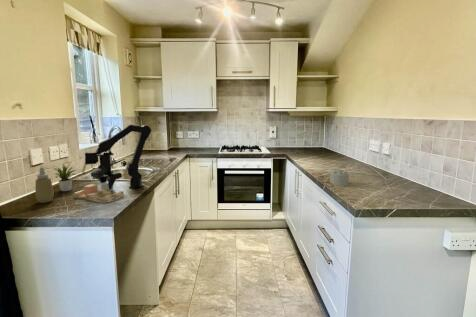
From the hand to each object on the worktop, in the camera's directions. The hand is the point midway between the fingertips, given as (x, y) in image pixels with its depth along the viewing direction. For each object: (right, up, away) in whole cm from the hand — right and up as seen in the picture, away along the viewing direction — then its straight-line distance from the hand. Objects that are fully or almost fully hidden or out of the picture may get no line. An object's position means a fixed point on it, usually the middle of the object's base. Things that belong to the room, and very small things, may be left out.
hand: (107, 188), depth 164 cm
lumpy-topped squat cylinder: (+144, +1, +17) cm, 145 cm away
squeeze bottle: (-23, -5, -19) cm, 30 cm away
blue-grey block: (0, -1, 0) cm, 1 cm away
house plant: (-26, -1, +1) cm, 26 cm away
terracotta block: (-4, -2, -10) cm, 11 cm away
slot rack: (+1, -3, -12) cm, 13 cm away
